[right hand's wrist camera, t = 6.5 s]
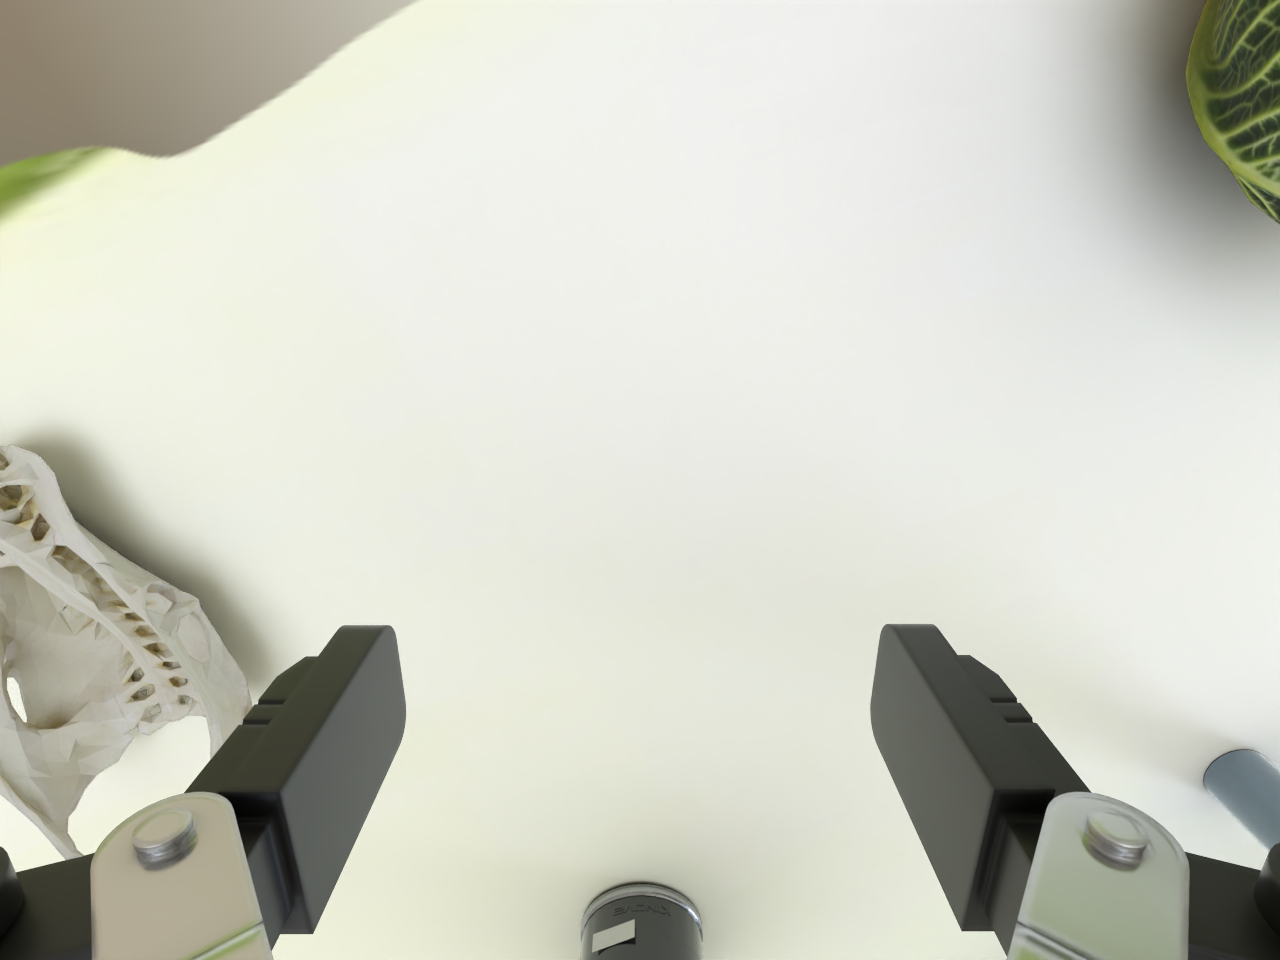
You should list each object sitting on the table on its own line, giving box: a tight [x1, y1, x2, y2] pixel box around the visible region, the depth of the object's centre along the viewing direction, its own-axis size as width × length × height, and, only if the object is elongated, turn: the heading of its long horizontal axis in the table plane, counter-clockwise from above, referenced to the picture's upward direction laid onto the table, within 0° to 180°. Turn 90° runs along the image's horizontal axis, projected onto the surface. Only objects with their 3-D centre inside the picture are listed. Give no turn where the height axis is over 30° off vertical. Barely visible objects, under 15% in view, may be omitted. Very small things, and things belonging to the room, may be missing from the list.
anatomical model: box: [0, 445, 253, 860], centre depth 41 cm, size 15×9×25 cm
